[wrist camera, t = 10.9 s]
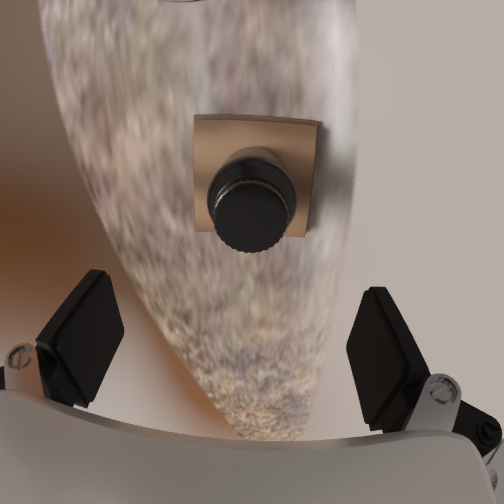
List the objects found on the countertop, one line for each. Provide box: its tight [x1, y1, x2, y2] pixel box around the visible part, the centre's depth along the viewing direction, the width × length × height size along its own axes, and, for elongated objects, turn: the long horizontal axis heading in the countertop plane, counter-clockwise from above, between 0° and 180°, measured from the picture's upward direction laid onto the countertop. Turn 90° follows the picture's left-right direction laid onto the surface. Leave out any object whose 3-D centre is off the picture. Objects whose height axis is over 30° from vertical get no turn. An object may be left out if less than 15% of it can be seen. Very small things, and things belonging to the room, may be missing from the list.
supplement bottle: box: [206, 147, 298, 253], centre depth 23 cm, size 7×7×12 cm
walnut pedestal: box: [194, 115, 319, 237], centre depth 30 cm, size 13×13×3 cm
